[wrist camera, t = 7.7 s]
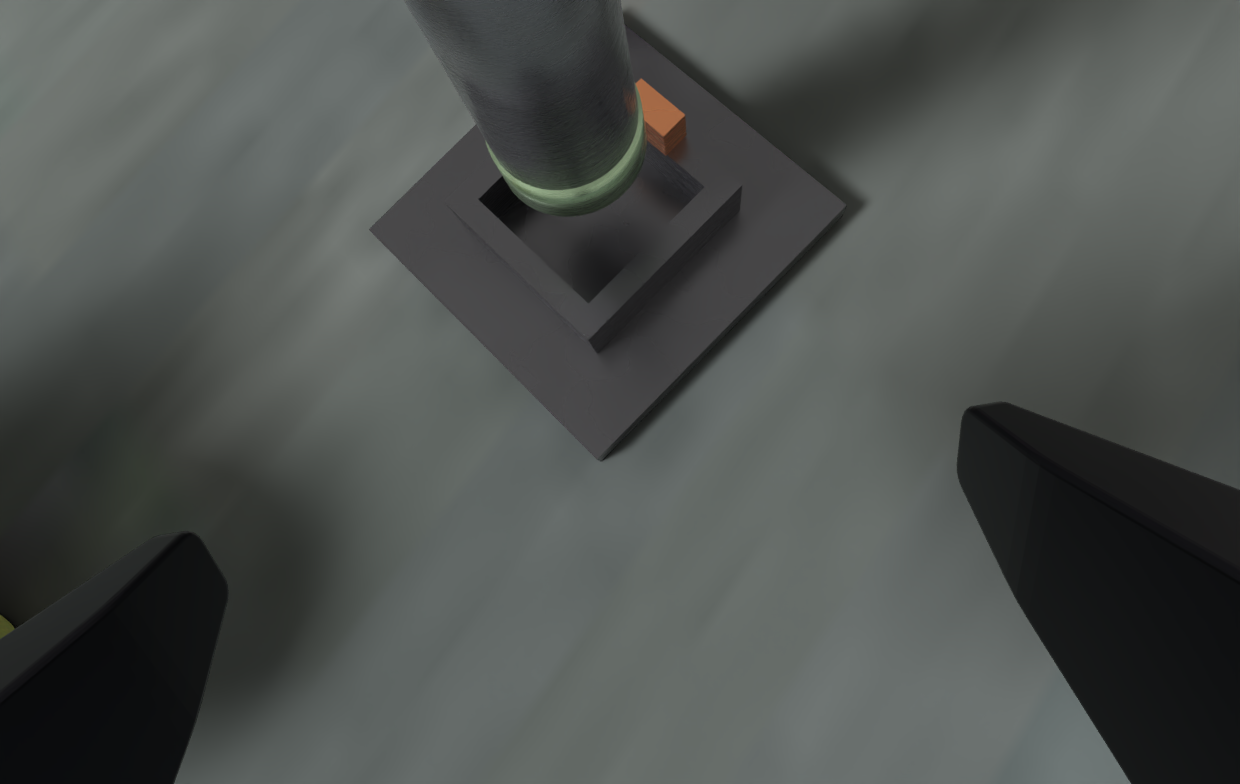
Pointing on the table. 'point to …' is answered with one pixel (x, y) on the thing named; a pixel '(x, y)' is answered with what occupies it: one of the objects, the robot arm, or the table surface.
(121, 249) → the table surface
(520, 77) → the column
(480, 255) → the stand base
